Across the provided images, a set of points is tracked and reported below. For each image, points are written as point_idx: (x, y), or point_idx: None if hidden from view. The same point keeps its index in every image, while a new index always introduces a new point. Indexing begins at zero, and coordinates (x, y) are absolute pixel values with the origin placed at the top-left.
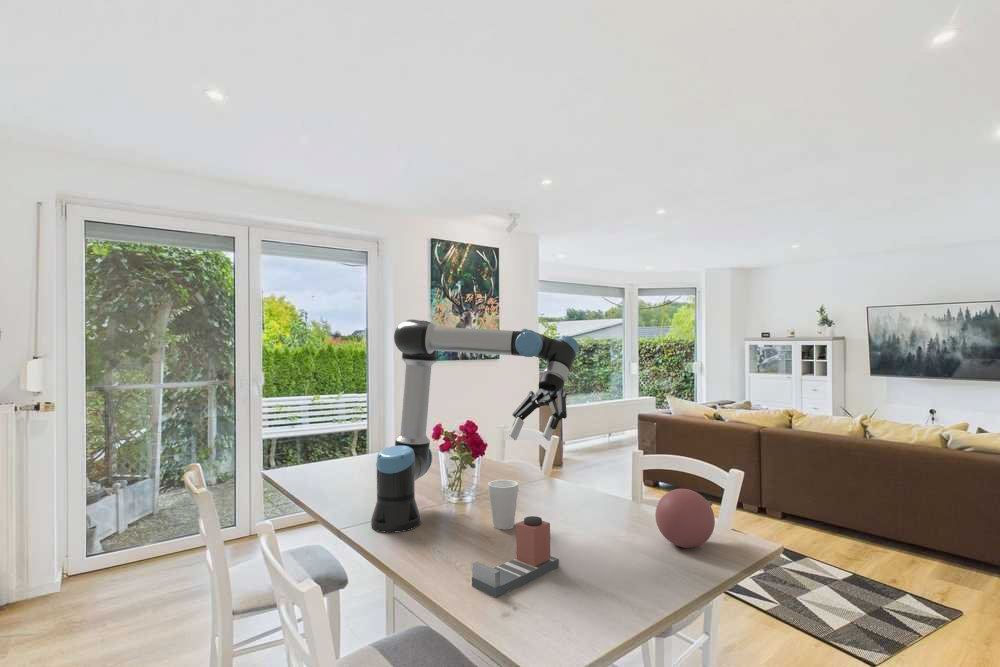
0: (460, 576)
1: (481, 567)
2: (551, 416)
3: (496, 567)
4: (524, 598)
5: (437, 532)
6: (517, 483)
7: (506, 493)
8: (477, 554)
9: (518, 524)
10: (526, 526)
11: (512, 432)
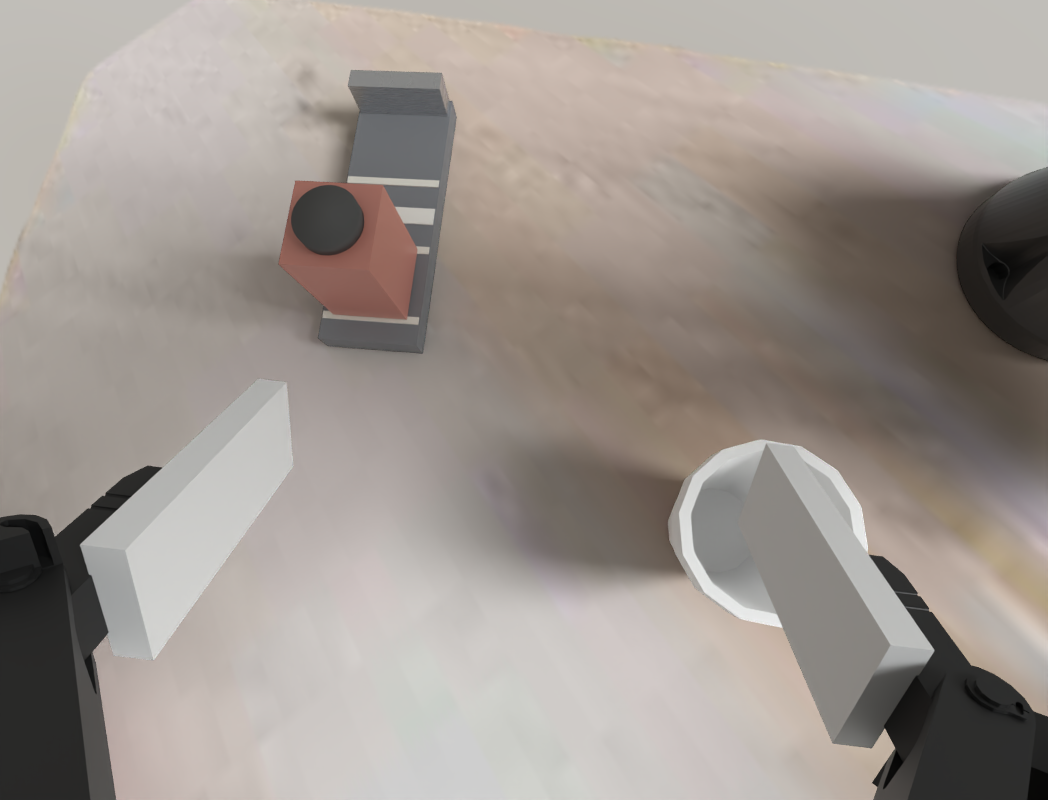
0: (519, 134)
1: (404, 72)
2: (102, 541)
3: (436, 180)
4: (310, 152)
5: (855, 313)
6: (706, 586)
7: (688, 476)
8: (588, 263)
9: (371, 185)
10: (331, 183)
11: (777, 468)
